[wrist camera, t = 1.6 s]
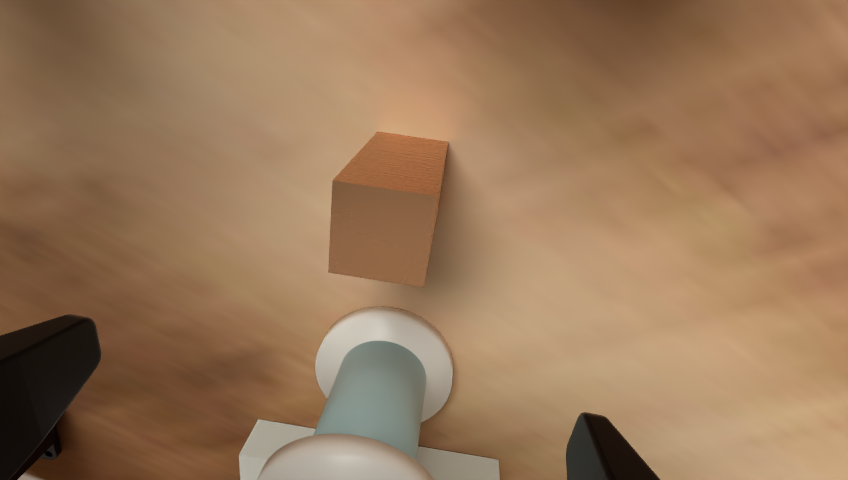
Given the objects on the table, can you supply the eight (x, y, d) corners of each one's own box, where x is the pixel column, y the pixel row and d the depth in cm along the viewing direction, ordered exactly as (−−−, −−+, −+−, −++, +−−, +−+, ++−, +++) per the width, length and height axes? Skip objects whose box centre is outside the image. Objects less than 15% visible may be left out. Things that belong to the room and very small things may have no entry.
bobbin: (318, 403, 26) (249, 572, 18) (323, 296, 23) (242, 441, 15) (442, 423, 26) (429, 605, 18) (463, 318, 23) (458, 478, 15)
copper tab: (371, 198, 21) (328, 272, 15) (377, 131, 20) (332, 180, 13) (438, 208, 21) (424, 287, 14) (448, 142, 20) (437, 196, 13)
